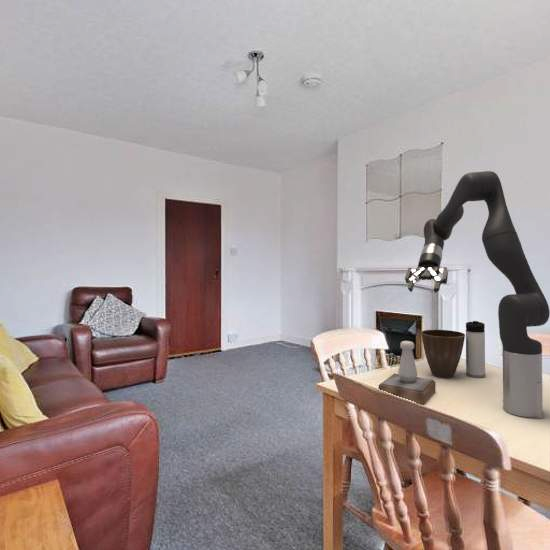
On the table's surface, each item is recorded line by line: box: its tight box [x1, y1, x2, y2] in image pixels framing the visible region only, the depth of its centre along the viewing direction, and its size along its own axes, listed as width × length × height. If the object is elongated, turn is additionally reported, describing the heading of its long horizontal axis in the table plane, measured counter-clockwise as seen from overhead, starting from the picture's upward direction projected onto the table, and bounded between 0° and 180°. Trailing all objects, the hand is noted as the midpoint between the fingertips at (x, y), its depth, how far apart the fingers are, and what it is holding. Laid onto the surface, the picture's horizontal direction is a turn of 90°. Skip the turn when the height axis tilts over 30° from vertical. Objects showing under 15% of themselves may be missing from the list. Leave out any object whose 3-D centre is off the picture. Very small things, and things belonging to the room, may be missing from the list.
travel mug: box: [465, 320, 486, 379], centre depth 137 cm, size 6×7×20 cm
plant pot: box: [420, 329, 466, 379], centre depth 138 cm, size 15×15×16 cm
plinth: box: [378, 372, 437, 406], centre depth 120 cm, size 14×14×4 cm
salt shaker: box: [397, 340, 418, 383], centre depth 120 cm, size 6×6×13 cm
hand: (422, 290), depth 131 cm, fingers open, 8 cm apart
